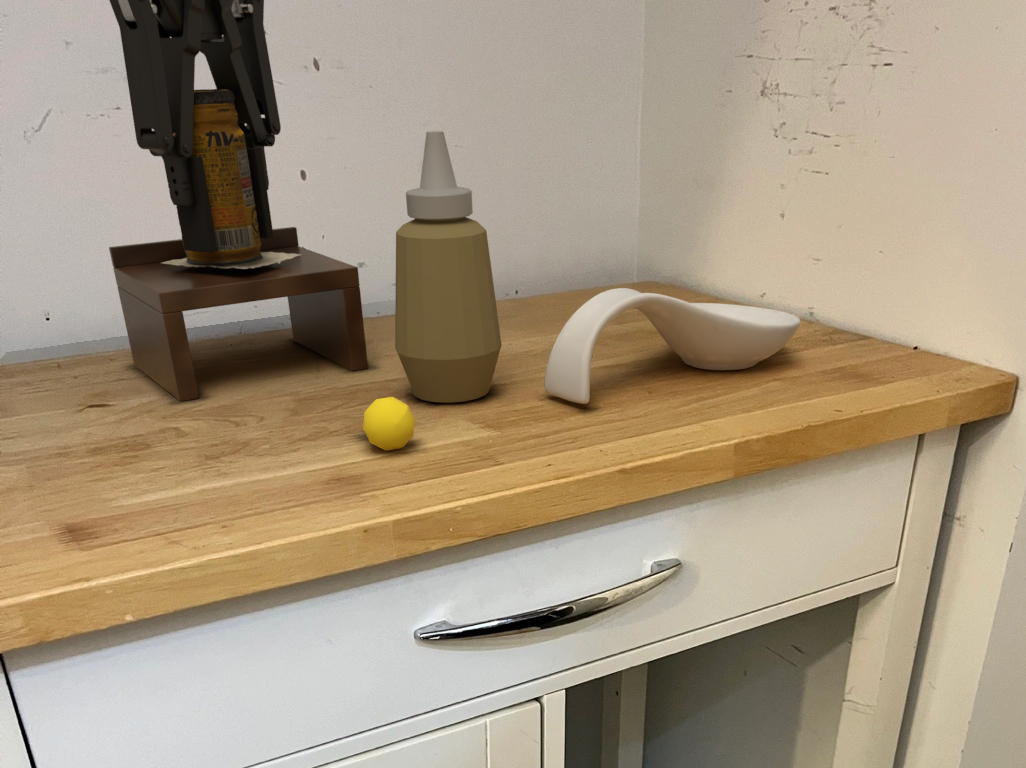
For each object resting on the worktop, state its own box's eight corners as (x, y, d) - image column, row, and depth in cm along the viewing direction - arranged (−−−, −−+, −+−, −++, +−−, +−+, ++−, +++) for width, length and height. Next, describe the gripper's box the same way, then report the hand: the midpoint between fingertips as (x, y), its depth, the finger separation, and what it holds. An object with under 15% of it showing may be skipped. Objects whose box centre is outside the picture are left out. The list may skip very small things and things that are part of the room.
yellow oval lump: (388, 460, 72) (362, 410, 71) (362, 459, 77) (338, 412, 76) (430, 436, 73) (406, 386, 71) (402, 437, 78) (379, 390, 77)
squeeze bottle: (418, 415, 80) (395, 139, 70) (386, 387, 86) (361, 130, 77) (519, 400, 83) (511, 132, 73) (481, 374, 89) (469, 124, 79)
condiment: (221, 250, 92) (194, 87, 86) (302, 257, 89) (280, 87, 83) (160, 266, 87) (126, 92, 80) (244, 273, 84) (216, 93, 77)
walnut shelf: (180, 401, 84) (154, 271, 79) (134, 365, 94) (108, 247, 89) (368, 368, 92) (356, 246, 86) (308, 338, 101) (294, 226, 96)
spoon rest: (718, 337, 98) (724, 251, 94) (825, 361, 91) (836, 269, 87) (515, 389, 85) (512, 292, 82) (619, 422, 78) (621, 318, 74)
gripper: (107, -137, 66) (182, 267, 79) (301, -112, 80) (339, 227, 93) (21, -128, 69) (106, 261, 82) (223, -106, 83) (269, 223, 96)
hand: (230, 242), depth 87 cm, fingers closed on condiment, 6 cm apart
